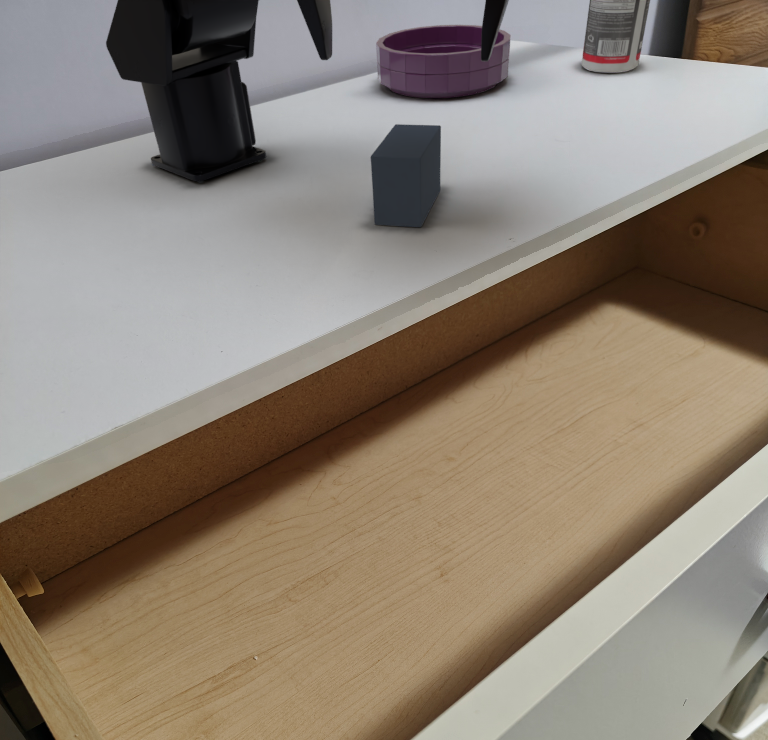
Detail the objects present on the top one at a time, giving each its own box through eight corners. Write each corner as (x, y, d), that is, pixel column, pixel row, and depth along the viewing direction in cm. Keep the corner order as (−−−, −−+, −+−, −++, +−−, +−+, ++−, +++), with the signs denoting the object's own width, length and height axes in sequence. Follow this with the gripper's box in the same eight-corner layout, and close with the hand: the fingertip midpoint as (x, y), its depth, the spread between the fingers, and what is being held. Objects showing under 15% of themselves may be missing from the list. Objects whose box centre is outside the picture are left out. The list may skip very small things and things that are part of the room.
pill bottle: (604, 57, 68) (624, -70, 61) (649, 65, 65) (675, -68, 58) (568, 68, 66) (585, -63, 59) (614, 77, 63) (637, -60, 56)
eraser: (421, 227, 42) (420, 157, 39) (374, 225, 42) (370, 156, 39) (440, 191, 46) (441, 125, 43) (397, 189, 46) (395, 123, 43)
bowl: (449, 108, 59) (450, 61, 56) (352, 87, 65) (349, 44, 62) (533, 77, 64) (537, 33, 62) (437, 60, 71) (437, 20, 68)
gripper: (78, -413, 24) (190, 97, 35) (639, -502, 20) (563, 104, 31) (212, -360, 31) (269, 46, 42) (637, -416, 27) (577, 47, 38)
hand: (404, 59), depth 38 cm, fingers open, 9 cm apart
